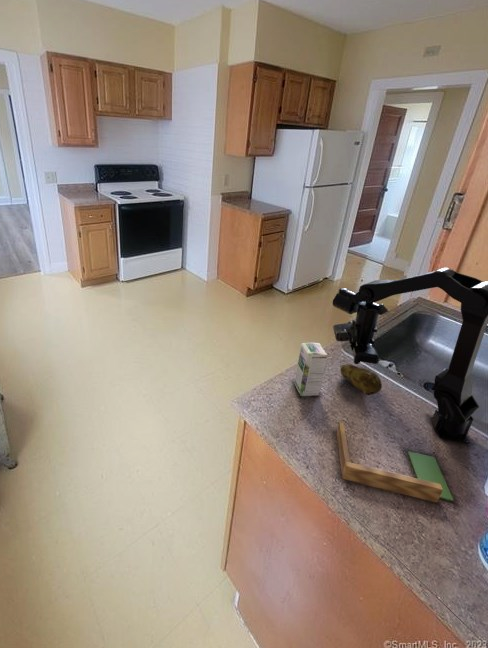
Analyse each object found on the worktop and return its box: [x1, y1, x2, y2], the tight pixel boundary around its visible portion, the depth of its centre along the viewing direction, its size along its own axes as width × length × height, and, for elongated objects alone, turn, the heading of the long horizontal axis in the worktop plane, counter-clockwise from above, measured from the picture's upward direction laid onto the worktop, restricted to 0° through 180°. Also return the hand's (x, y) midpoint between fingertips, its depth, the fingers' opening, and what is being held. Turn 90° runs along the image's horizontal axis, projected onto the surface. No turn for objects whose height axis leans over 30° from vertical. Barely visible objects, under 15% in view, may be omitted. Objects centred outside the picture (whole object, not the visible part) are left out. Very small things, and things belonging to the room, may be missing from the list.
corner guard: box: [335, 421, 443, 503], centre depth 72 cm, size 18×12×4 cm
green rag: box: [407, 451, 454, 502], centre depth 71 cm, size 6×10×1 cm, turn 165°
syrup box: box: [293, 342, 329, 397], centre depth 92 cm, size 6×6×14 cm
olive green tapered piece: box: [339, 363, 383, 397], centre depth 94 cm, size 8×13×8 cm, turn 177°
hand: (355, 363), depth 102 cm, fingers closed
